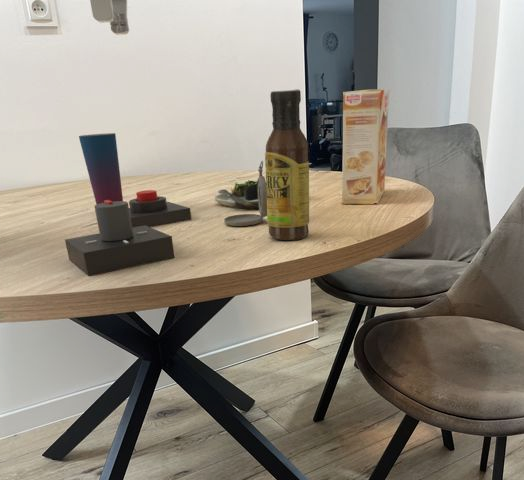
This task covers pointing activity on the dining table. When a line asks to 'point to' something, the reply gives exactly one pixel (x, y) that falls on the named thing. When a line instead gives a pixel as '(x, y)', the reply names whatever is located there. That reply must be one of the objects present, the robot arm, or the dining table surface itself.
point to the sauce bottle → (287, 170)
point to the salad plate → (240, 196)
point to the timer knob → (114, 220)
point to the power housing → (157, 212)
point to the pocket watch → (262, 203)
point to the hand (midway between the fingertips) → (113, 28)
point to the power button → (146, 195)
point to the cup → (102, 166)
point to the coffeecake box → (364, 145)
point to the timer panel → (119, 250)
